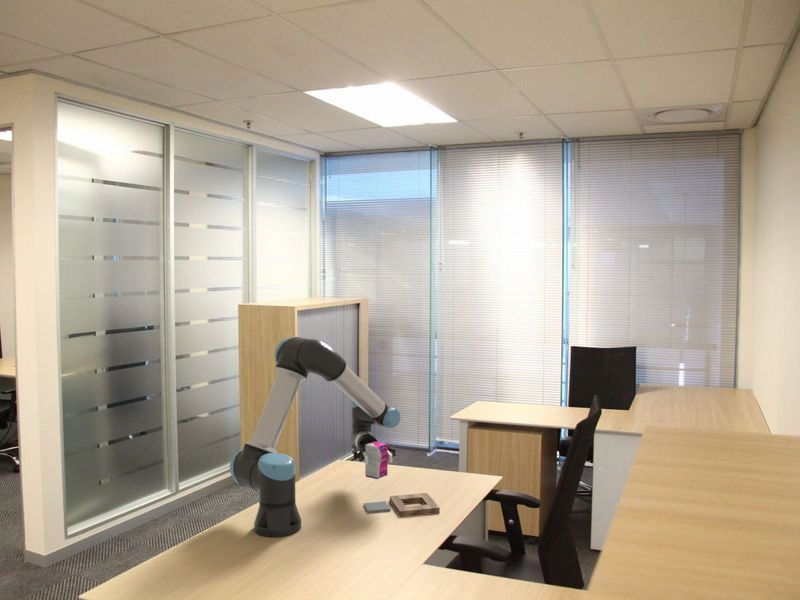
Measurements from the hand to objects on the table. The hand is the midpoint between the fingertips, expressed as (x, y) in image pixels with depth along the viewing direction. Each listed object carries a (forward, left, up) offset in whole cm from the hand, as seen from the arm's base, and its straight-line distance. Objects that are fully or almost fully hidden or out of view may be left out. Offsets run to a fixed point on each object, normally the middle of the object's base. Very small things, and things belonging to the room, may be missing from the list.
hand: (379, 460), depth 239 cm
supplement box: (0, +5, -7) cm, 9 cm away
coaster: (0, +5, -18) cm, 19 cm away
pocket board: (+13, +3, -18) cm, 23 cm away
